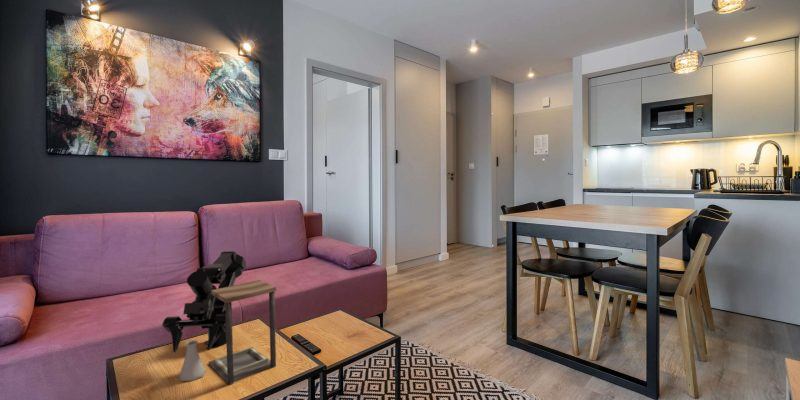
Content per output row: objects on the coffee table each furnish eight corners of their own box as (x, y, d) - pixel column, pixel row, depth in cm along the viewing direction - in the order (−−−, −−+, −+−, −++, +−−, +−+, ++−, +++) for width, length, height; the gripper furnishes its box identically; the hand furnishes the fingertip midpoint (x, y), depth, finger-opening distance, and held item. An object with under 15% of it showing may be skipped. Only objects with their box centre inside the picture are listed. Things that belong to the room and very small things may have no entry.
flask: (177, 384, 104) (176, 350, 103) (179, 372, 110) (178, 340, 110) (206, 378, 107) (205, 345, 107) (206, 366, 114) (205, 335, 113)
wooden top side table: (206, 364, 115) (204, 286, 113) (253, 348, 126) (251, 276, 124) (228, 386, 103) (225, 299, 102) (277, 366, 114) (276, 287, 112)
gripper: (163, 291, 111) (145, 343, 101) (228, 288, 113) (217, 339, 103) (176, 307, 119) (161, 356, 109) (236, 304, 122) (227, 352, 112)
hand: (191, 351), depth 108 cm, fingers open, 9 cm apart
